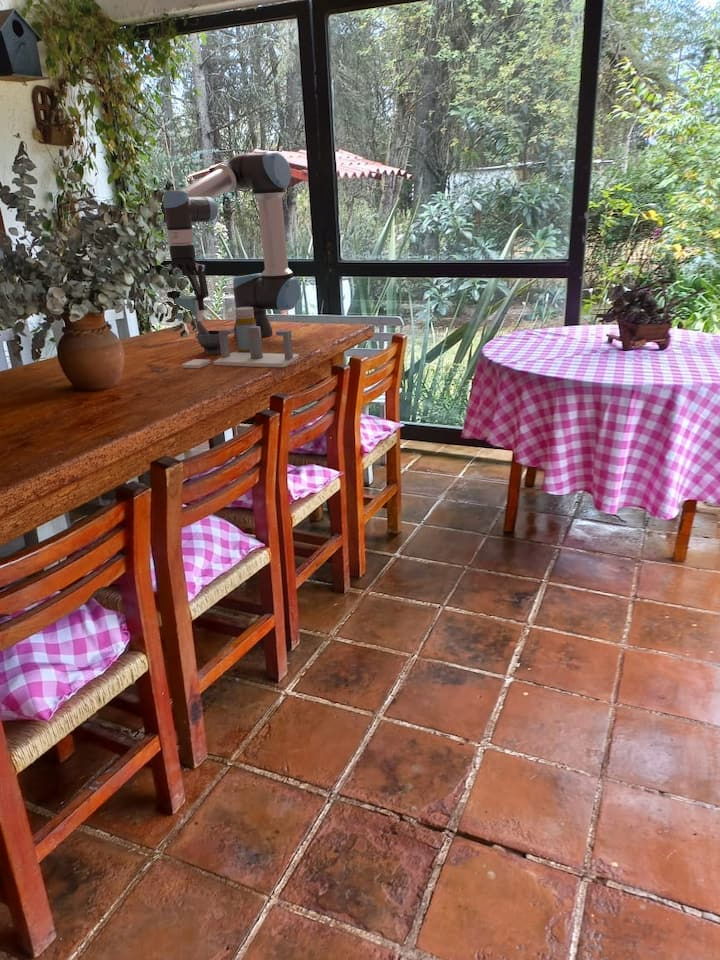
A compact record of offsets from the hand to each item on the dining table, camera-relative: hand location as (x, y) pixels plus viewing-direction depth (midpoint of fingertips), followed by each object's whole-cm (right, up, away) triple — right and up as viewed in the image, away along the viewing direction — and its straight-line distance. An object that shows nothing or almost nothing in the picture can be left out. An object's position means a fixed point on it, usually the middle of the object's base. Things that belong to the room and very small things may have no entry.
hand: (190, 320), depth 222 cm
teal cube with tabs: (0, +2, -1) cm, 2 cm away
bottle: (+15, -6, +23) cm, 28 cm away
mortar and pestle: (+1, -6, +24) cm, 25 cm away
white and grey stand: (+20, -12, +8) cm, 25 cm away
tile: (+1, -13, +6) cm, 14 cm away
